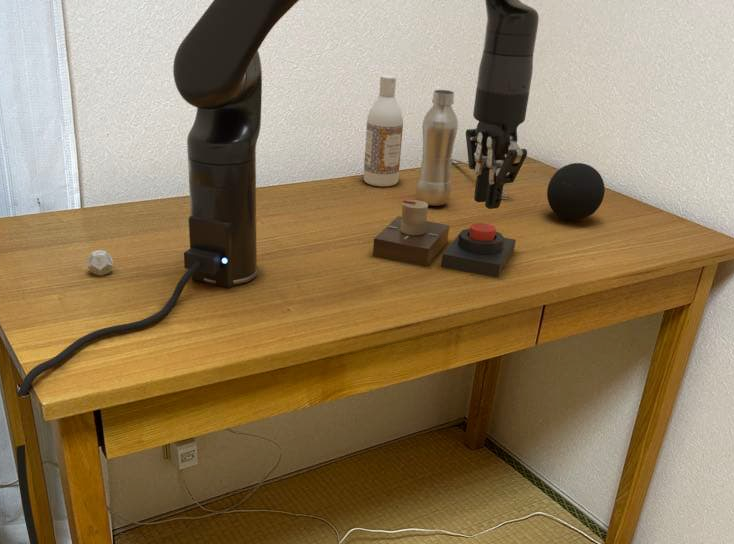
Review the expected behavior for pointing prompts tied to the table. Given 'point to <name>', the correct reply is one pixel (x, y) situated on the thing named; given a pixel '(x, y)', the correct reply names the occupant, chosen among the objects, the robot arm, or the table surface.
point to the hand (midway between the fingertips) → (486, 203)
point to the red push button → (482, 232)
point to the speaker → (575, 191)
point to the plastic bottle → (437, 150)
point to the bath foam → (383, 137)
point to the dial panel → (410, 243)
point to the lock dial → (414, 217)
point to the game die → (100, 262)
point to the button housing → (478, 254)
